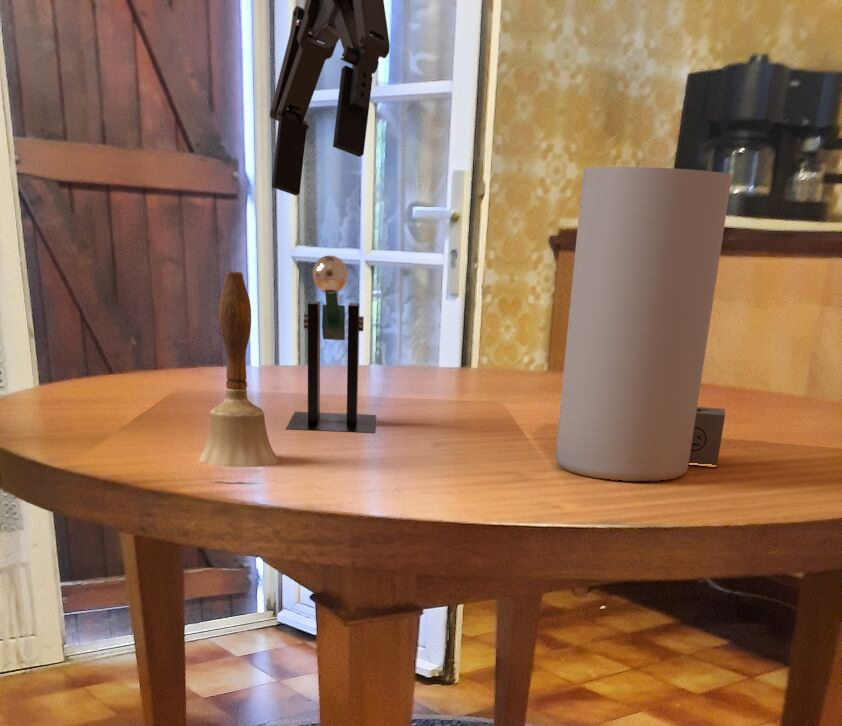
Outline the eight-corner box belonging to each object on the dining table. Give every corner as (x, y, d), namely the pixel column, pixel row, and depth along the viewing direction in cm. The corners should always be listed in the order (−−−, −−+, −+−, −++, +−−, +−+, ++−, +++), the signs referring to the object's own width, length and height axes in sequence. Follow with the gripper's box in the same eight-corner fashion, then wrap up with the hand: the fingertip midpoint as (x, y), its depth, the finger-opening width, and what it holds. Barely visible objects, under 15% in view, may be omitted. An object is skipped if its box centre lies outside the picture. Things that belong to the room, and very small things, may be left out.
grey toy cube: (716, 459, 109) (724, 408, 107) (716, 468, 105) (725, 415, 103) (666, 455, 110) (674, 404, 108) (665, 463, 106) (672, 411, 104)
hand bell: (181, 466, 94) (171, 268, 87) (272, 463, 97) (269, 271, 90) (202, 486, 87) (193, 272, 80) (300, 482, 90) (299, 276, 83)
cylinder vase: (668, 460, 108) (708, 180, 97) (702, 486, 97) (751, 172, 86) (546, 455, 107) (572, 173, 96) (565, 480, 96) (597, 164, 85)
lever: (346, 284, 97) (347, 249, 97) (311, 282, 96) (312, 247, 96) (349, 344, 109) (350, 314, 110) (318, 343, 109) (319, 312, 109)
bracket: (374, 445, 108) (378, 308, 102) (285, 442, 107) (283, 304, 102) (375, 426, 118) (379, 302, 113) (294, 423, 118) (293, 298, 112)
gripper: (449, -122, 89) (416, 146, 92) (319, 0, 110) (296, 215, 113) (371, -167, 85) (339, 115, 88) (252, -31, 106) (229, 193, 109)
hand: (315, 172), depth 101 cm, fingers open, 13 cm apart
